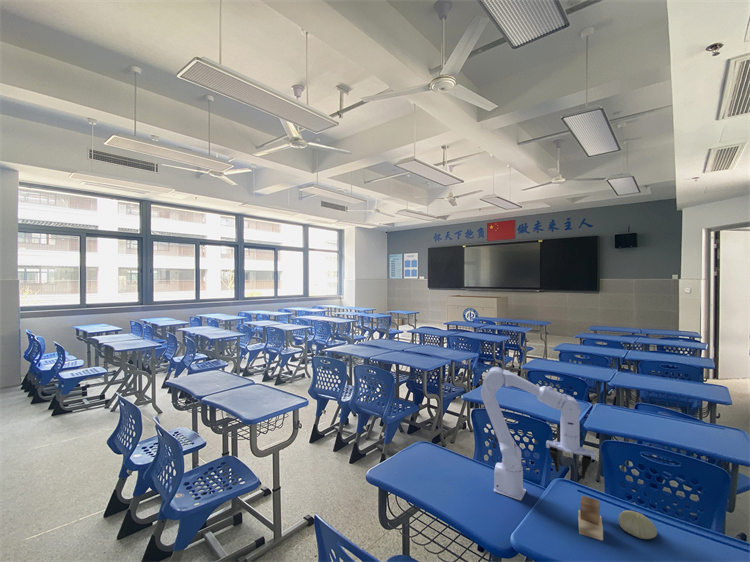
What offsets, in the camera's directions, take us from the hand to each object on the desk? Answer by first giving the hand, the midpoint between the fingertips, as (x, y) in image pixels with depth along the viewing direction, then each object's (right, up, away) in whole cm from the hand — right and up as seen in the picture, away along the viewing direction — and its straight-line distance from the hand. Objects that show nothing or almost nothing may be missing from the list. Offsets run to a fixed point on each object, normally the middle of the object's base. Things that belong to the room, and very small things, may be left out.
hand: (570, 474), depth 117 cm
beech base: (-1, -10, -13) cm, 17 cm away
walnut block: (-1, -6, -13) cm, 14 cm away
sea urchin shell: (+13, -10, -13) cm, 21 cm away
